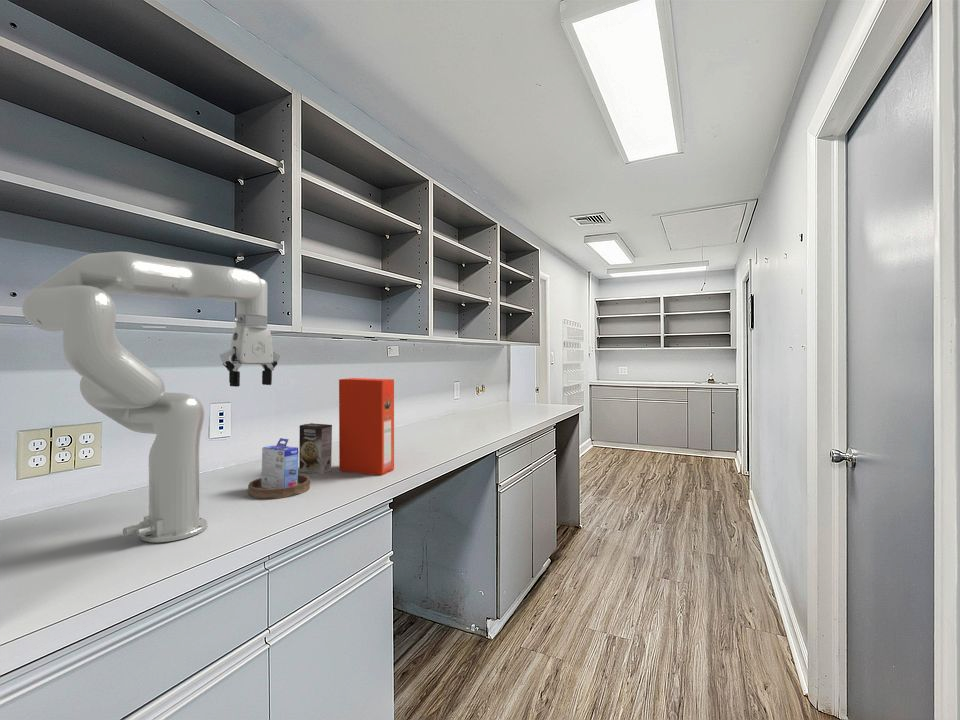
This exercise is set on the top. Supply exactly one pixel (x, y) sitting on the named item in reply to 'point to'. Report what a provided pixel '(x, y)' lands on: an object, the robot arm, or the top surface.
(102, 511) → the top surface
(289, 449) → the ink cartridge box
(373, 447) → the file binder
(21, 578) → the top surface
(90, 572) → the top surface
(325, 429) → the coffee box
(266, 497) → the round tray
